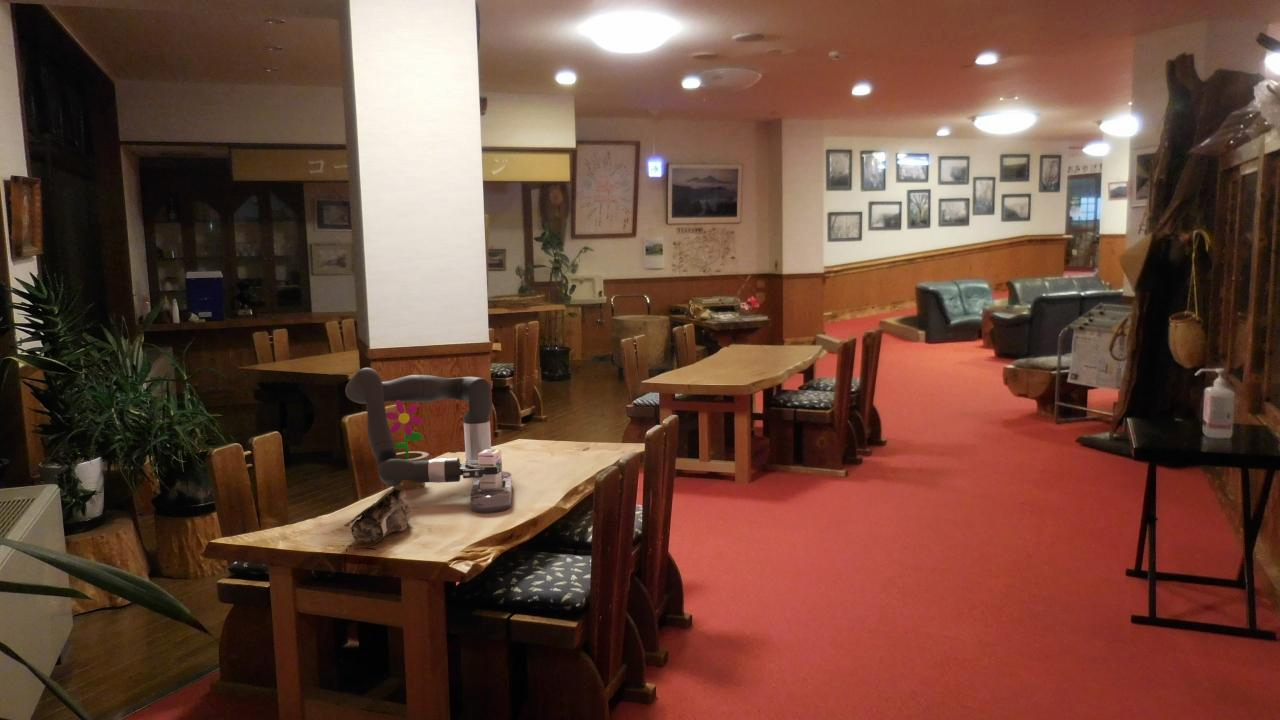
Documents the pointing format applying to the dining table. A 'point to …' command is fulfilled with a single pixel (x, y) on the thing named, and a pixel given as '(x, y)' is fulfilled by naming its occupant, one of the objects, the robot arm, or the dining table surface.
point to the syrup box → (491, 460)
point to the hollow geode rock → (382, 518)
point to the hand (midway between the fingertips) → (497, 467)
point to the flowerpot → (408, 436)
